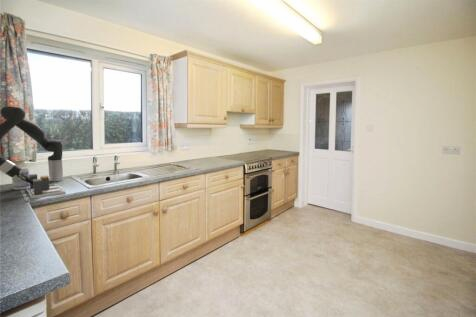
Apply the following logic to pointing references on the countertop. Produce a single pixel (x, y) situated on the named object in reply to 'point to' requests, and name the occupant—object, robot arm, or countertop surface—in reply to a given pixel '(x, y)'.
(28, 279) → the countertop surface
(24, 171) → the supplement tub
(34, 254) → the countertop surface
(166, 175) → the countertop surface
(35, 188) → the grey base plate
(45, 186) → the breaker
